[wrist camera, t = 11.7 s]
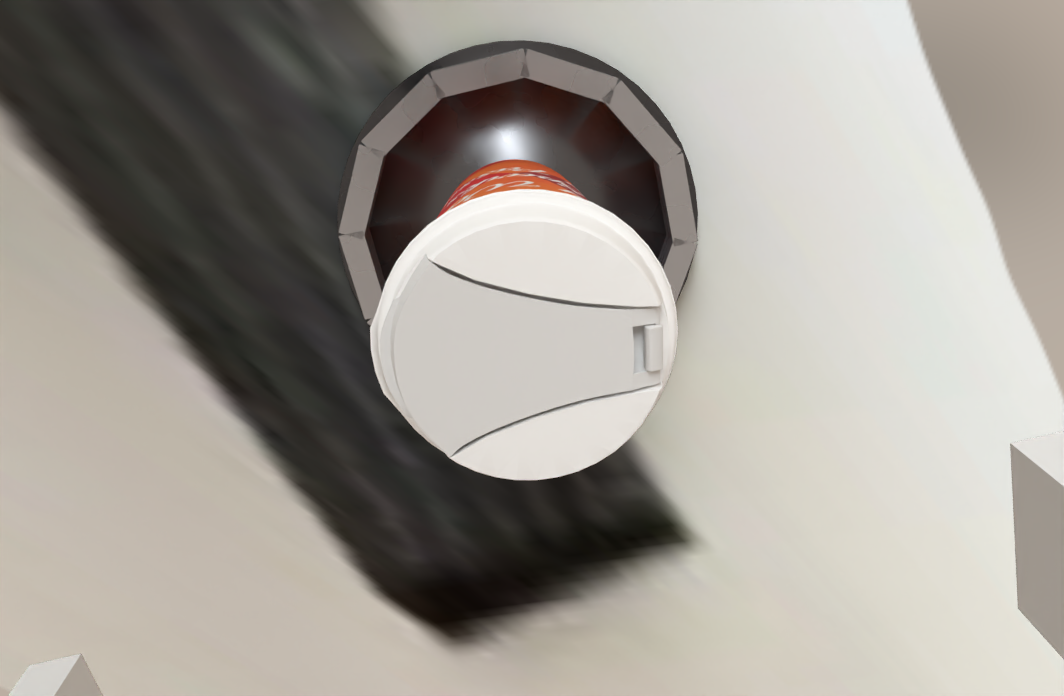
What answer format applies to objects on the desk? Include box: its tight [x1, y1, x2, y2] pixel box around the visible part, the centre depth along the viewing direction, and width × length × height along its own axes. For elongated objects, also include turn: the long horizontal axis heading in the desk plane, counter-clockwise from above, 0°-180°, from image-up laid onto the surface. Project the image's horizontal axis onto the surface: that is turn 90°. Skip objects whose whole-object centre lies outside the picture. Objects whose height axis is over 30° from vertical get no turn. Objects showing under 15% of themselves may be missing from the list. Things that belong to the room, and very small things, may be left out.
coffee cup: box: [370, 159, 678, 480], centre depth 30 cm, size 8×8×15 cm
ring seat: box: [337, 40, 698, 326], centre depth 37 cm, size 15×15×2 cm
